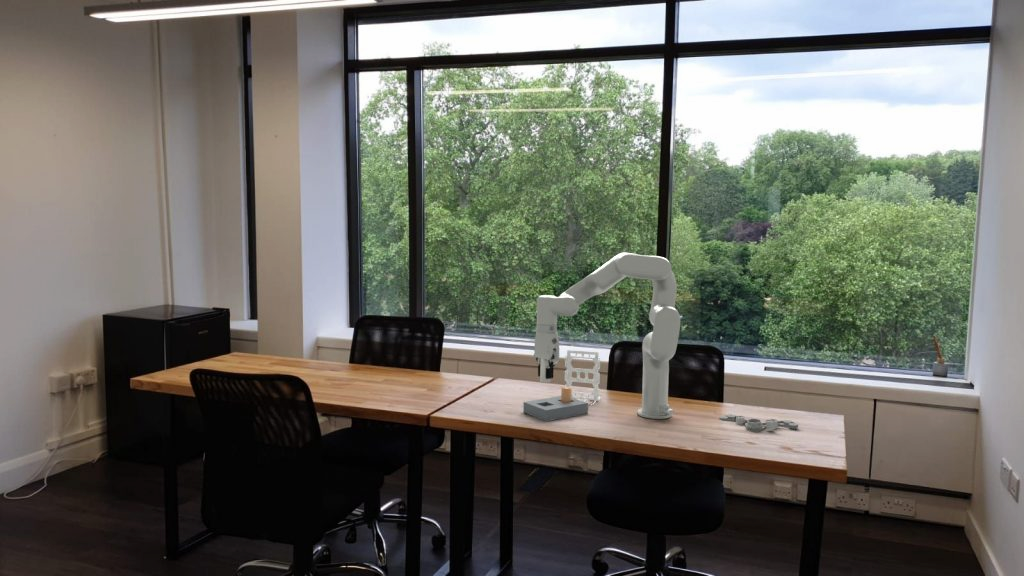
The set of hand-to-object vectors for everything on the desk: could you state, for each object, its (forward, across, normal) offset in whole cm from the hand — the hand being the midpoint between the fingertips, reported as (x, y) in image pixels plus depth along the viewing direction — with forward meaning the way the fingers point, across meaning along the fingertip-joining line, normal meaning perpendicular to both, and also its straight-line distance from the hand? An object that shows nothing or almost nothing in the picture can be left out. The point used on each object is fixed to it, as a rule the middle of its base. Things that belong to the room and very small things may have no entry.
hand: (545, 376), depth 266 cm
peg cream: (+2, 0, 0) cm, 2 cm away
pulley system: (+15, -52, -56) cm, 78 cm away
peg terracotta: (+14, 0, -10) cm, 18 cm away
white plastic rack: (+15, +10, -26) cm, 32 cm away
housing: (+14, 0, -5) cm, 15 cm away
